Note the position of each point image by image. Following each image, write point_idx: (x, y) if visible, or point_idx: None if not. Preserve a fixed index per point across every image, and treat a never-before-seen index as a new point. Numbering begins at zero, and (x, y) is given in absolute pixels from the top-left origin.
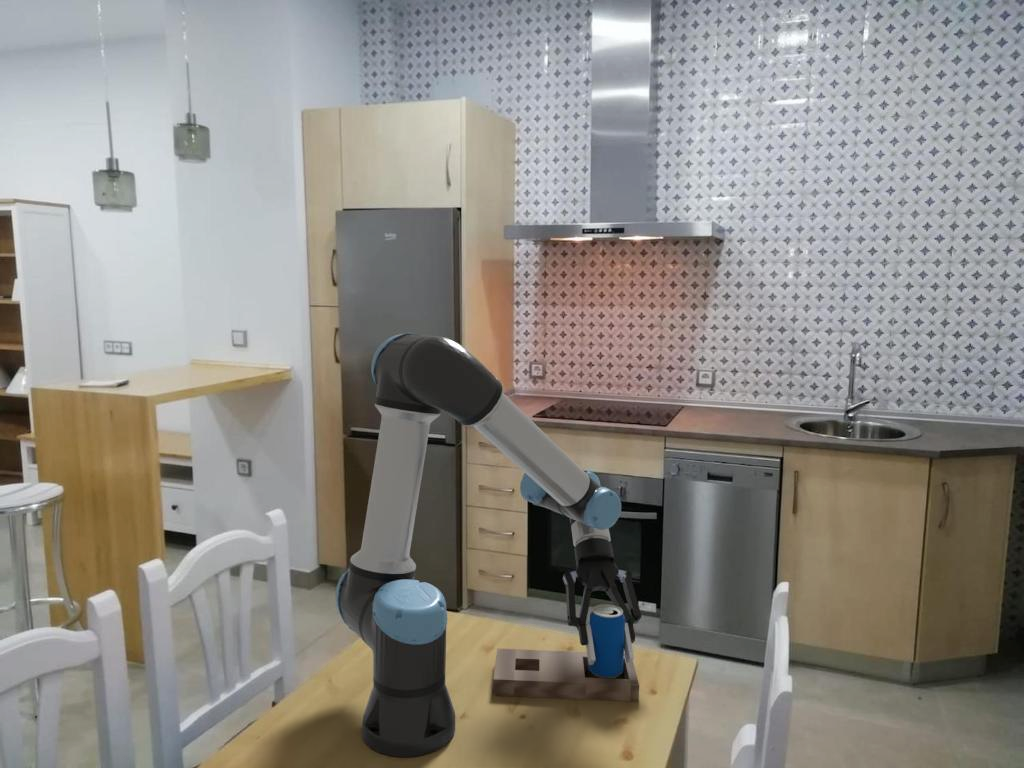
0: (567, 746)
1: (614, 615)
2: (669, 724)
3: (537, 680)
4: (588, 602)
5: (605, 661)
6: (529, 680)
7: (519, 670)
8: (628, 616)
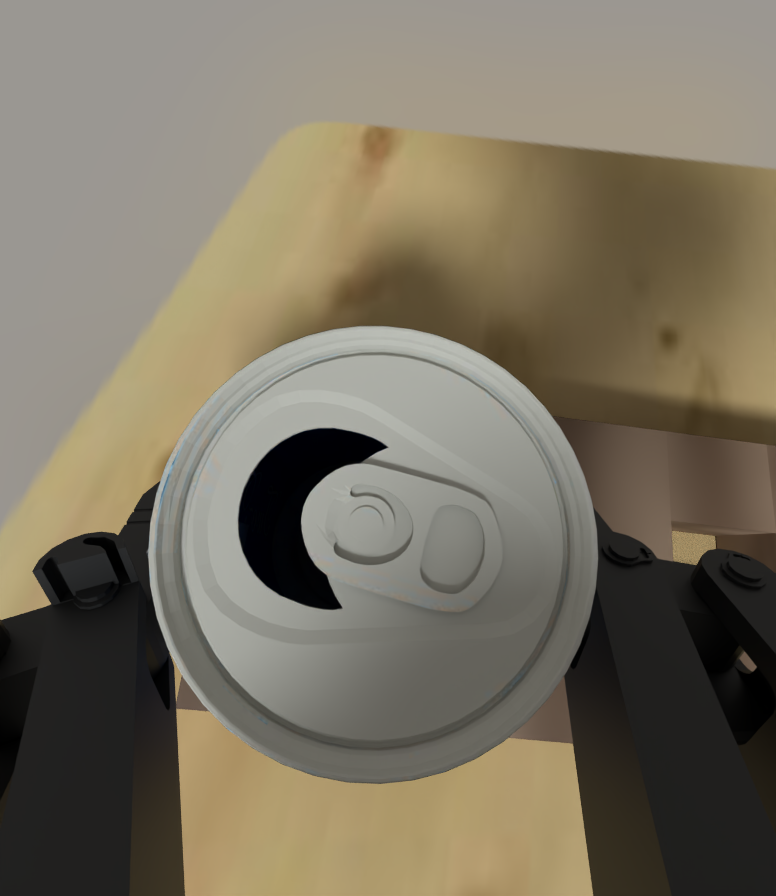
0: (538, 191)
1: (312, 412)
2: (197, 260)
3: (674, 436)
4: (668, 800)
5: (385, 445)
6: (706, 440)
7: (756, 527)
8: (88, 624)
